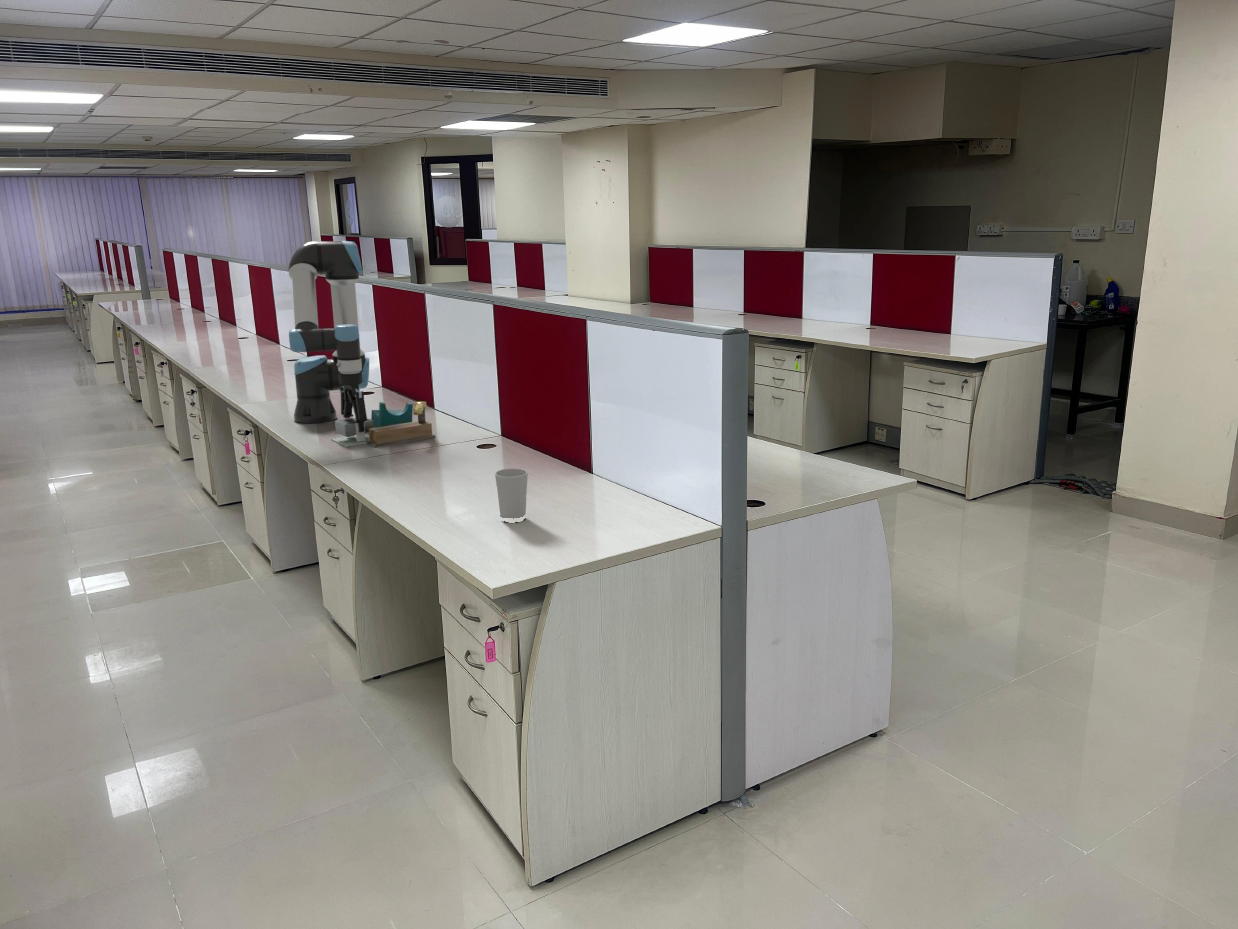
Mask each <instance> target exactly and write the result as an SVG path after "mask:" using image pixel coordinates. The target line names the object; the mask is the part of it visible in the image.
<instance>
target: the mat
mask: <svg viewBox="0 0 1238 929" xmlns="http://www.w3.org/2000/svg"><path fill="white" fill-rule="evenodd" d="M365 440H366V441H370V439H369V434H367V433H366V434H365ZM331 441H332V442H335V443H337V444H339V445H340V446H344V447H345V448H347V447H348V448H349V447H355V446H361V445H367V444H366V441H361V442H357V436H356V435H355V436H352V437H345V436H343V437H337V438H331Z"/></svg>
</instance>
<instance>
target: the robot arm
mask: <svg viewBox="0 0 1238 929" xmlns="http://www.w3.org/2000/svg"><path fill="white" fill-rule="evenodd" d="M362 274H363V268H362V262H361V257H360V254H359V248H358V245H357V244H356V242H355V241H348V240H333V241H332V240H330V241H326V240H325V241H323V240H322V241H321V240H320V241H315V240H314V241H308V242H306V243H304V244H302V245H300V247H298V248H297V249H296V250H295V251H294V253H293V254H292V256H291V257H290V260H289V263H288V275H289V276H288V277H289V278H290V280H292V296H293V297H292V298H293V299H292V301H293V316H294V317H293V318H294V329H290V330H289V331H288V338H289V339H288V340H289V341H288V342H289V349H290V351H291V352H293V353H308V352H309V353H311V352H333V353H332V358H331V359H329V358H328V357H327V356H326V355H323V354H322V355H312V356H308V357H304V358H303V357H302V358H301V359H298V360H296V361H295V362H294V364H293V365H294V367H293V368H294V373H293V374H294V378H295V390H296V404H295V408H294V412H293V419H294V421H295V422H296V423H301V424H316V423H318V424H320V423H326V422H331V421H333V420H334V421H335V420H336V419H337V417H338V415H337V411H336V408H335V406H334V403H333V402H332V399H331V394H330V392H332V391H339V393H340V415H341V416H343V418H344V419H351V418H356V421H355V424H356V436H357V442H361V441H366V440H365V428H364V422H365V421H367V418H368V416H367V410H366V404H365V403H366V402H365V393H364V391H363V390H361V391H360V389H365V388H367V387H368V384H369V378H370V377H369V376H370V358H369V357H367V356H366V353H365V352H364V351H363V350H362V349H361V342H360V330H359V314H358V304H357V292H356V284H357V282H358V281H359V280H360V278H359V277H360V276H359V275H362ZM318 275H320V276H321V275H322V276H323V275H325V280H326V282H328V284H330V293H331V304H332V315H333V316H332V317H333V327H332V328H331V327H330V328H319V318H318V315H319V314H318V304H317V302H318V300H317V289H316V279H317V278H318ZM353 413H354V414H353ZM354 416H355V417H354ZM353 436H355V435H353ZM347 437H352V436H347Z"/></svg>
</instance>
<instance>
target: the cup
mask: <svg viewBox="0 0 1238 929" xmlns="http://www.w3.org/2000/svg"><path fill="white" fill-rule="evenodd" d="M528 474H529V472H528V470H526V469H524V468H517V467H516V468H503V469H499V470H496V471H495V472H494V476H495V485H496V486H495V487H496V488H497V489H496V490H497V498H498V507H499V518H500V517H502V518H513V519H514V518H520V517H523V516H524V515H525V514H526V512H527V493H528V491H527V489H528V478H529V477H528Z"/></svg>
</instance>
